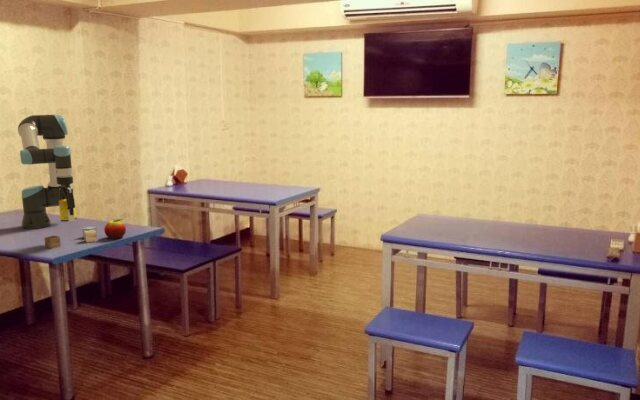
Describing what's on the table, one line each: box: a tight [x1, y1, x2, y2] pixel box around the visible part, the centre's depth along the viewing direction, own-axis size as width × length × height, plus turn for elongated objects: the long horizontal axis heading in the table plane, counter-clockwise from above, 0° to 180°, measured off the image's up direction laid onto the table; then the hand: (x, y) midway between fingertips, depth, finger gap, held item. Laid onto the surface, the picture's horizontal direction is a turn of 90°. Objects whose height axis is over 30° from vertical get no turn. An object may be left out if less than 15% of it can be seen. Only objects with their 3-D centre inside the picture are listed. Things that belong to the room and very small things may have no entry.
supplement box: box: [58, 198, 78, 223], centre depth 270 cm, size 6×6×11 cm
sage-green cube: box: [82, 226, 98, 239], centre depth 282 cm, size 5×5×5 cm
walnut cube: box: [44, 235, 61, 249], centre depth 263 cm, size 5×5×5 cm
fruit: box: [103, 218, 127, 240], centre depth 279 cm, size 11×11×10 cm
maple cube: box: [84, 230, 98, 243], centre depth 273 cm, size 5×5×5 cm
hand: (68, 219), depth 271 cm, fingers closed on supplement box, 8 cm apart
